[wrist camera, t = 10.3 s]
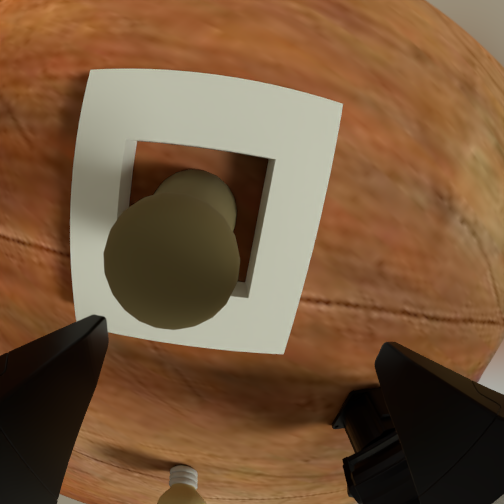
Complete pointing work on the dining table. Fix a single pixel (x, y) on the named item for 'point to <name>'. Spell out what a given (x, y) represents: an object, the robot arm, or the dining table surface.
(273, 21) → the dining table surface
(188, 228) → the olive green peg
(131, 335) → the socket board
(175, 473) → the light bulb
